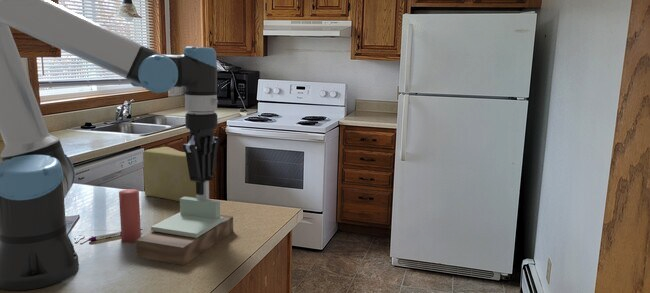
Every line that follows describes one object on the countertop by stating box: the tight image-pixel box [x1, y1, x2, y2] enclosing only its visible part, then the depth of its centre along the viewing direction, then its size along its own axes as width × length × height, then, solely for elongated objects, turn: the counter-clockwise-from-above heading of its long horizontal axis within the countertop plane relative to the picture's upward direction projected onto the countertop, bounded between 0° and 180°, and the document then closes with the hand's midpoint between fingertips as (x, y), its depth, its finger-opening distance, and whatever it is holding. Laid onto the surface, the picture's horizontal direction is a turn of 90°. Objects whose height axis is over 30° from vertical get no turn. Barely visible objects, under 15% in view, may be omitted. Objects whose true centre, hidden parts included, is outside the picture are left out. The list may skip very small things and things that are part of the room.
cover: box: [150, 197, 224, 238], centre depth 117 cm, size 12×12×5 cm
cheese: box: [142, 146, 196, 203], centre depth 151 cm, size 22×10×15 cm, turn 55°
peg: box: [118, 188, 142, 244], centre depth 118 cm, size 4×4×12 cm
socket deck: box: [135, 214, 234, 266], centre depth 117 cm, size 22×12×4 cm, turn 162°
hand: (202, 206), depth 123 cm, fingers closed
